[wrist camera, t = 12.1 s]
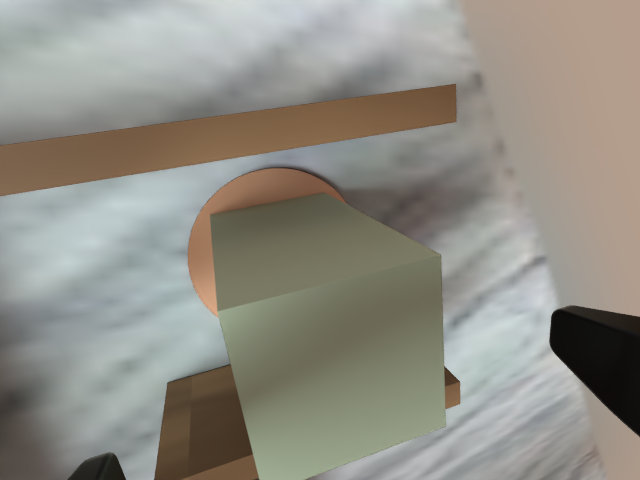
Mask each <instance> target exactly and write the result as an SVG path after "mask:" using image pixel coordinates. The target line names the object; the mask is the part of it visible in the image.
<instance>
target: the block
mask: <svg viewBox="0 0 640 480" xmlns="http://www.w3.org/2000/svg"><path fill="white" fill-rule="evenodd" d="M210 225H211V237H212V250H213V262H214V275H215V287H216V300H217V312H218V316H219V320H220V324H221V328H222V332H223V336H224V340H225V344H226V348H227V352H228V356H229V360H230V364H231V368H232V372H233V376H234V380H235V384H236V388H237V392H238V396H239V400H240V404H241V408H242V412H243V416H244V420H245V424H246V428H247V432H248V436H249V440H250V444H251V448H252V452H253V456H254V460H255V464H256V468H257V472H258V476H259V480H305V479H307V478H310V477H313V476H315V475H318V474H321V473H323V472H326V471H329V470H331V469H334V468H337V467H339V466H342V465H345V464H347V463H350V462H352V461H355V460H358V459H360V458H363V457H366V456H368V455H371V454H374V453H376V452H379V451H382V450H384V449H387V448H390V447H392V446H395V445H398V444H400V443H403V442H405V441H408V440H411V439H413V438H416V437H419V436H421V435H424V434H427V433H429V432H432V431H435V430H437V429H440V428H443V427H445V426H446V413H445V378H444V342H443V306H442V271H441V254H439V253H437V252H435V251H433V250H431V249H429V248H427V247H426V246H424V245H422V244H420V243H418V242H416V241H414V240H412V239H411V238H409V237H407V236H405V235H403V234H401V233H399V232H398V231H396V230H394V229H392V228H390V227H388V226H386V225H384V224H383V223H381V222H379V221H377V220H375V219H373V218H371V217H369V216H368V215H366V214H364V213H362V212H360V211H358V210H356V209H355V208H353V207H351V206H349V205H347V204H345V203H343V202H341V201H340V200H338V199H336V198H334V197H332V196H330V195H328V194H326V193H325V192H323V193H318V194H313V195H308V196H303V197H297V198H292V199H287V200H282V201H277V202H272V203H266V204H261V205H256V206H251V207H246V208H240V209H235V210H230V211H225V212H220V213H215V214H210Z"/></svg>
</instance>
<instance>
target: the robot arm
mask: <svg viewBox="0 0 640 480" xmlns="http://www.w3.org/2000/svg"><path fill="white" fill-rule="evenodd" d="M549 343H550V346H551V349H552V350H553V352H554V353H555V354H556V355H557V357H558V358H559V359H560V360H561V361H562V362H563V363H564V364H565V365H566V366H567V367H568V368H569V369H570V370H571V371H572V372H573V373H574V374H575V375H576V376H577V377H578V378H579V379H580V380H581V381H582V382H583V383H584V384H585V385H586V386H587V387H588V388H589V390H590V391H591V392H592V393H593V394H594V395H595V396H596V397H597V398H598V399H599V400H600V401H601V402H602V403H603V404H604V405H605V406H606V407H607V408H608V409H609V410H610V411H611V412H613V414H615V415H616V416H617V417H618V418H619V419H620V420H621V421H622V422H623V423H624V424H626V425H627V426H628V427H629V428H630V429H631V430H632V431H633V432H635V433H636V434H637V435H638V436H639V437H640V317H637V316H632V315H626V314H620V313H614V312H608V311H603V310H596V309H591V308H585V307H579V306H566V307H563V308H560V309H557V310H555V311H554V312H553V314H552V316H551V327H550V340H549ZM68 480H126V478H125V476H124V474H123V471H122V469H121V466H120V464H119V461H118V459H117V457H116V455H115V454H114V453H111V452H108V453H105V454H102V455H99V456H95V457H92V458H89V459H87V460H85V461H84V462H83V463H82V464H81V465H80V466H79V467H78V468H77V469H76V471H75V472H74V473H73V474H72V475H71V476H70V478H69V479H68Z"/></svg>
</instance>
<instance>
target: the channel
mask: <svg viewBox="0 0 640 480" xmlns="http://www.w3.org/2000/svg"><path fill="white" fill-rule="evenodd" d="M453 122H456V84H452V85H445V86H437V87H430V88H422V89H415V90H408V91H400V92H393V93H385V94H378V95H371V96H363V97H356V98H348V99H341V100H334V101H326V102H319V103H311V104H304V105H297V106H289V107H282V108H274V109H267V110H260V111H252V112H245V113H237V114H230V115H223V116H215V117H208V118H200V119H193V120H186V121H178V122H171V123H163V124H156V125H149V126H141V127H134V128H126V129H119V130H112V131H104V132H97V133H90V134H82V135H75V136H67V137H60V138H53V139H45V140H38V141H30V142H23V143H16V144H8V145H1V146H0V196H4V195H10V194H16V193H23V192H29V191H35V190H41V189H47V188H53V187H59V186H66V185H72V184H78V183H84V182H90V181H96V180H103V179H109V178H115V177H121V176H127V175H133V174H139V173H146V172H152V171H158V170H164V169H170V168H176V167H182V166H189V165H195V164H201V163H207V162H213V161H219V160H225V159H232V158H238V157H244V156H250V155H256V154H262V153H269V152H275V151H281V150H287V149H293V148H299V147H305V146H312V145H318V144H324V143H330V142H336V141H342V140H348V139H355V138H361V137H367V136H373V135H379V134H385V133H391V132H398V131H404V130H410V129H416V128H422V127H428V126H435V125H441V124H447V123H453ZM323 192H325V193H326V194H328V195H330V196H332V197H334V198H336V199H338V200H340V201H341V202H343V203H345V204H347V203H346V202H345V200H344V199H343V198H342V197H341V196H340V195H339V193H338V192H337V191H336V190H334V189H333V188H332V187H331V186H330V185H328V184H327V183H325V182H324V181H322V180H321V179H319V178H317V177H315V176H312V175H310V174H308V173H305V172H302V171H298V170H293V169H287V168H269V169H261V170H257V171H253V172H250V173H247V174H244V175H242V176H239V177H237V178H236V179H234V180H232V181H230V182H228V183H227V184H226V185H224V186H223V187H222V188H220V189H219V190H218V191H217V192H216V193H215V194H214V195H213V196H212V197H211V198H210V199H209V200H208V201H207V203H206V204H205V205H204V206H203V208H202V210H201V211H200V213H199V215H198V216H197V218H196V221H195V223H194V225H193V228H192V231H191V235H190V239H189V247H188V267H189V272H190V277H191V280H192V283H193V286H194V288H195V290H196V292H197V294H198V296H199V297H200V299H201V300H202V302H203V303H204V304H205V306H206V307H207V308H208V309H209V310H210V311H211V312H212V313H213V314H214V315H216V316H217V317H218V318H219V316H218V312H217V300H216V287H215V275H214V262H213V250H212V237H211V225H210V214H215V213H220V212H225V211H230V210H235V209H240V208H246V207H251V206H256V205H261V204H266V203H272V202H277V201H282V200H287V199H292V198H297V197H303V196H308V195H313V194H318V193H323ZM444 378H445V409H447V408H450V407H453V406H456V405H458V404H460V381H459V380H458V379H457V378H456V377H455V376H454V375H453V374H452V373H451V372H450V371H449V370H448V369H447V368H446V367H445V366H444ZM257 478H259V476H258V472H257V468H256V464H255V460H254V456H253V452H252V448H251V444H250V440H249V436H248V432H247V428H246V424H245V420H244V416H243V412H242V408H241V404H240V400H239V396H238V392H237V388H236V384H235V380H234V376H233V372H232V368H231V365H228V366H225V367H221V368H218V369H214V370H211V371H207V372H204V373H200V374H197V375H194V376H190V377H187V378H183V379H180V380H176V381H173V382H169V383H167V390H166V398H165V405H164V412H163V420H162V427H161V434H160V442H159V449H158V456H157V464H156V471H155V478H154V480H254V479H257Z"/></svg>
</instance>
